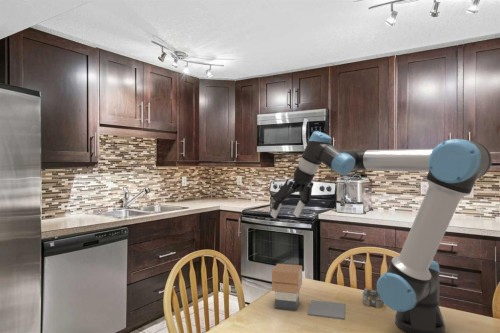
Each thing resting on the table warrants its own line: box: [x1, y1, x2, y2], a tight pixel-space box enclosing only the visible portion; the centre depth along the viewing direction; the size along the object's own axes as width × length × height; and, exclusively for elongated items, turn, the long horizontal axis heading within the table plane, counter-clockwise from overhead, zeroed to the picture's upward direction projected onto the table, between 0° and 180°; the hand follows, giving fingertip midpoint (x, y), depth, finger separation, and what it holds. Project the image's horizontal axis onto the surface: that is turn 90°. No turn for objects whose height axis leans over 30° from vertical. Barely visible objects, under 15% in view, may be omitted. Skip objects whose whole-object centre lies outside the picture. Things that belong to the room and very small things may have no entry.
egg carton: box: [362, 287, 383, 308], centre depth 140 cm, size 11×8×4 cm
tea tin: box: [274, 291, 300, 312], centre depth 136 cm, size 8×8×10 cm
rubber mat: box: [307, 299, 346, 320], centre depth 132 cm, size 13×13×1 cm
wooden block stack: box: [271, 263, 303, 294], centre depth 136 cm, size 10×10×8 cm
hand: (284, 216), depth 142 cm, fingers open, 13 cm apart
